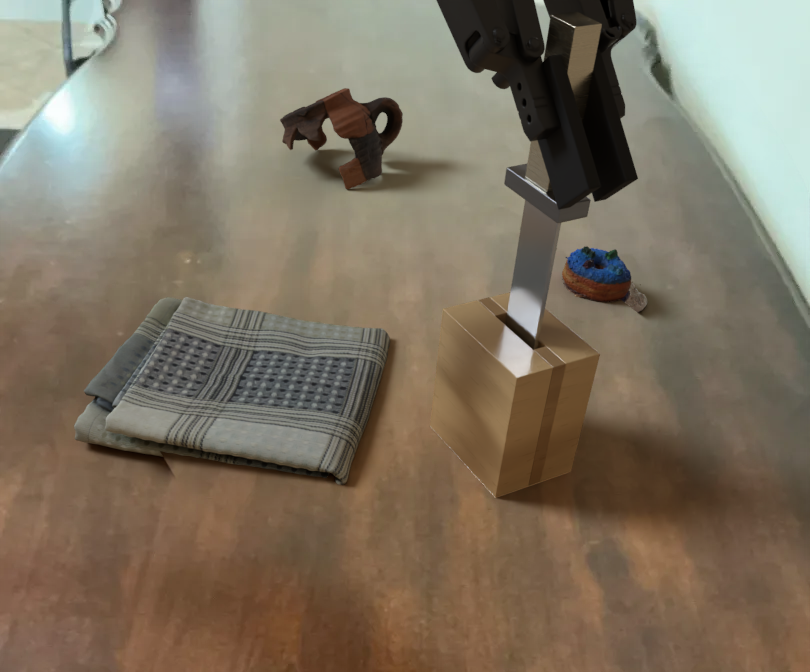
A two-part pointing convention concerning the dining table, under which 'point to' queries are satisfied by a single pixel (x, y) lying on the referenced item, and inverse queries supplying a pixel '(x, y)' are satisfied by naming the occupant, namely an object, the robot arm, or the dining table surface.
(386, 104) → the brown wooden irregular piece
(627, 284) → the dessert
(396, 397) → the dining table surface
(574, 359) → the knife block
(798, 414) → the dining table surface
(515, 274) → the knife
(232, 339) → the dish towel
